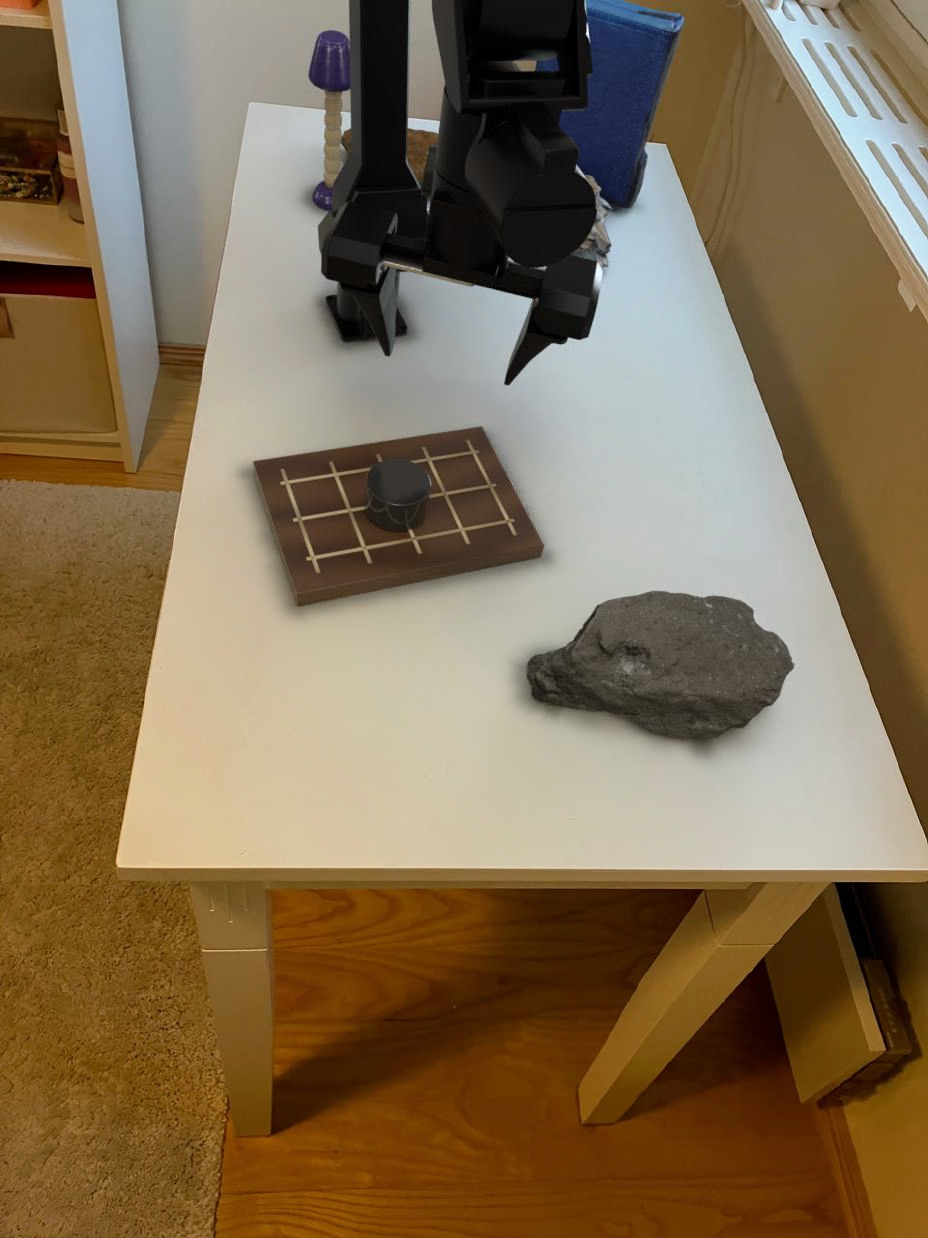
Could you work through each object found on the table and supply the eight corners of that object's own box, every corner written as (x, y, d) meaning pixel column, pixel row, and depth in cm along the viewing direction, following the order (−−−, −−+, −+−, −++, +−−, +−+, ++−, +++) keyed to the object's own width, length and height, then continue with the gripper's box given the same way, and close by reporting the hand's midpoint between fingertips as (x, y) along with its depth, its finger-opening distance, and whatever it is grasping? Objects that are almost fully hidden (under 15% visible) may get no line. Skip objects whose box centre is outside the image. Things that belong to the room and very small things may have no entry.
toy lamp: (349, 216, 102) (356, 50, 89) (305, 210, 102) (305, 42, 89) (353, 192, 105) (361, 28, 92) (311, 186, 105) (312, 20, 91)
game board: (253, 473, 78) (252, 459, 77) (479, 438, 85) (482, 424, 83) (297, 606, 71) (297, 593, 70) (541, 557, 77) (545, 544, 76)
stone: (548, 752, 64) (568, 610, 61) (516, 698, 72) (532, 570, 69) (795, 751, 68) (827, 618, 64) (739, 700, 76) (764, 579, 73)
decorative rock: (328, 188, 106) (462, 215, 107) (330, 152, 102) (468, 182, 103) (345, 131, 112) (471, 158, 113) (347, 96, 109) (477, 125, 110)
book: (639, 197, 112) (695, 10, 96) (629, 219, 109) (686, 29, 93) (523, 162, 114) (559, -29, 98) (510, 182, 110) (546, -11, 94)
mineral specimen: (535, 192, 110) (543, 157, 107) (607, 206, 111) (616, 171, 107) (527, 265, 101) (535, 229, 98) (605, 279, 102) (615, 243, 98)
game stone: (357, 489, 77) (359, 462, 74) (417, 481, 78) (421, 454, 76) (372, 535, 74) (375, 509, 72) (434, 526, 75) (439, 500, 73)
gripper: (635, 142, 65) (580, 332, 77) (366, 77, 65) (355, 277, 77) (620, 231, 58) (563, 423, 71) (321, 159, 58) (316, 363, 71)
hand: (448, 367), depth 73 cm, fingers open, 9 cm apart
